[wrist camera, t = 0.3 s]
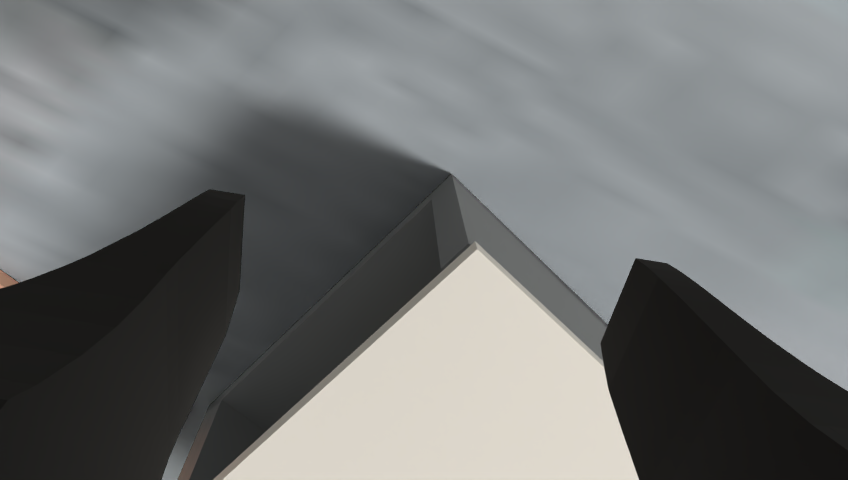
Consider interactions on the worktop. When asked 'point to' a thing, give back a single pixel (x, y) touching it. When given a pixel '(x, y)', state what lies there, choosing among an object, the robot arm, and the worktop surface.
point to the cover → (454, 396)
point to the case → (374, 318)
